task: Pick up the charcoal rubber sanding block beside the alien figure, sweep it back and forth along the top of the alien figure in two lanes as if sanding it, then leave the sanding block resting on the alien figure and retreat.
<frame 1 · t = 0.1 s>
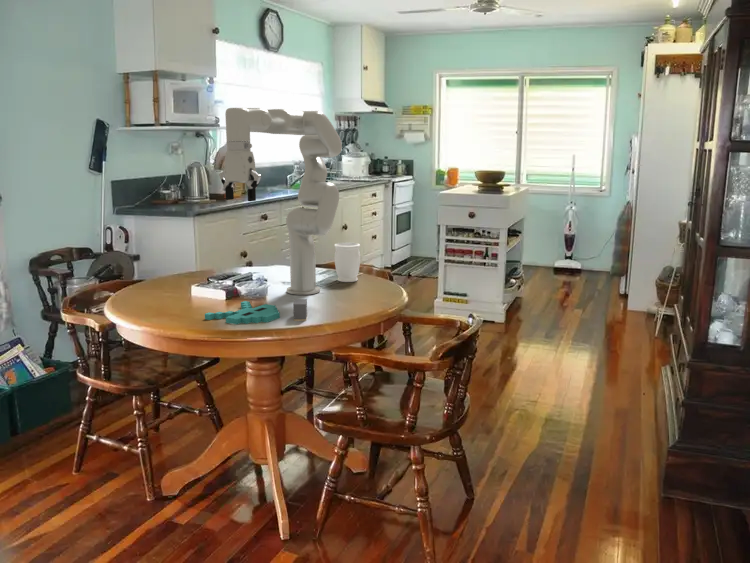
hand: (240, 200, 224), 37 cm above the table, tool pointing down, fingers open, 9 cm apart
sanding block: (300, 318, 222), on the table
jar: (347, 280, 279), on the table
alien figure: (249, 318, 224), on the table
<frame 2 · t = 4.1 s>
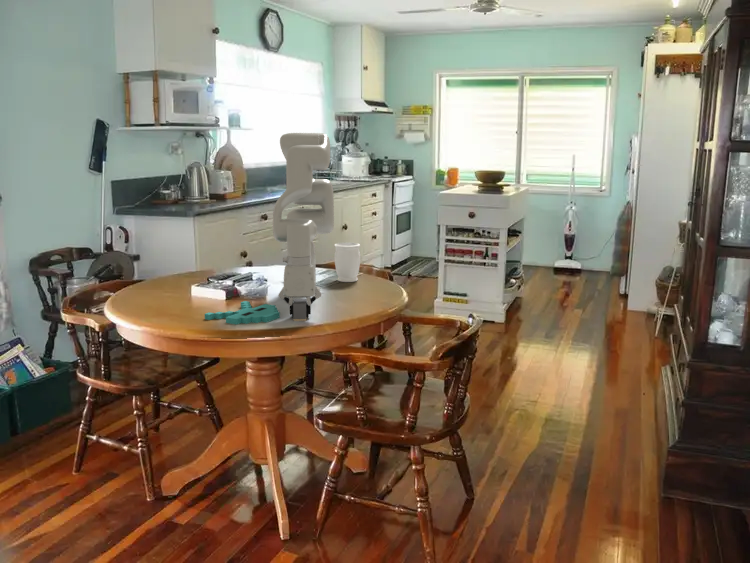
hand: (300, 316, 222), 1 cm above the table, tool pointing down, fingers closed on sanding block, 4 cm apart
sanding block: (300, 317, 222), on the table, touching gripper
everything else where it was.
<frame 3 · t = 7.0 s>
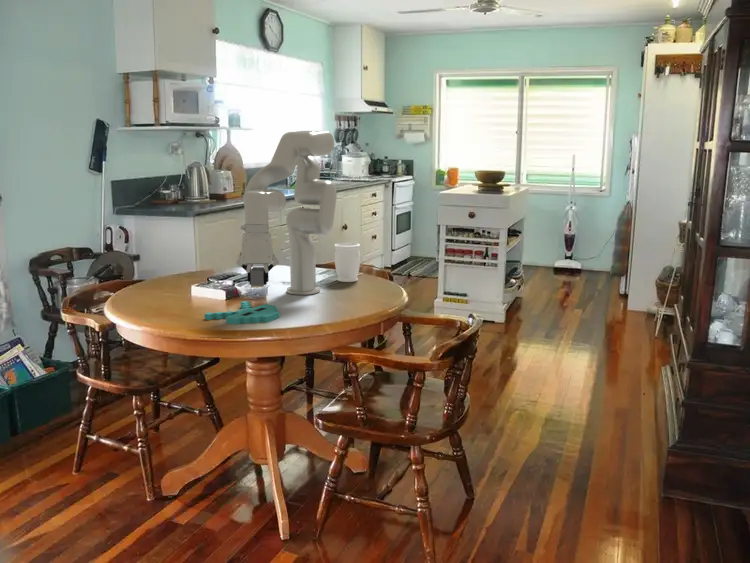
hand: (258, 283, 226), 10 cm above the table, tool pointing down, fingers closed on sanding block, 4 cm apart
sanding block: (258, 285, 226), point 9 cm above the table, touching gripper
everything else where it was.
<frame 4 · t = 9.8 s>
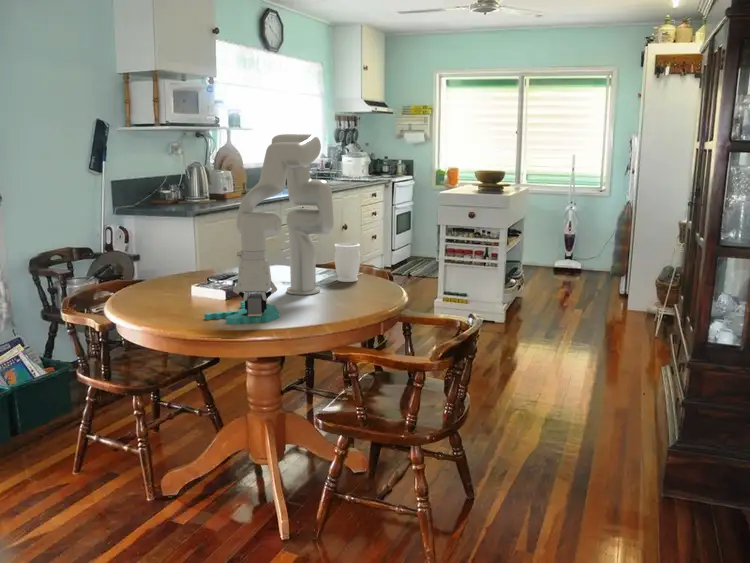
hand: (255, 311, 218), 3 cm above the table, tool pointing down, fingers closed on sanding block, 4 cm apart
sanding block: (255, 313, 218), point 2 cm above the table, touching gripper
everything else where it was.
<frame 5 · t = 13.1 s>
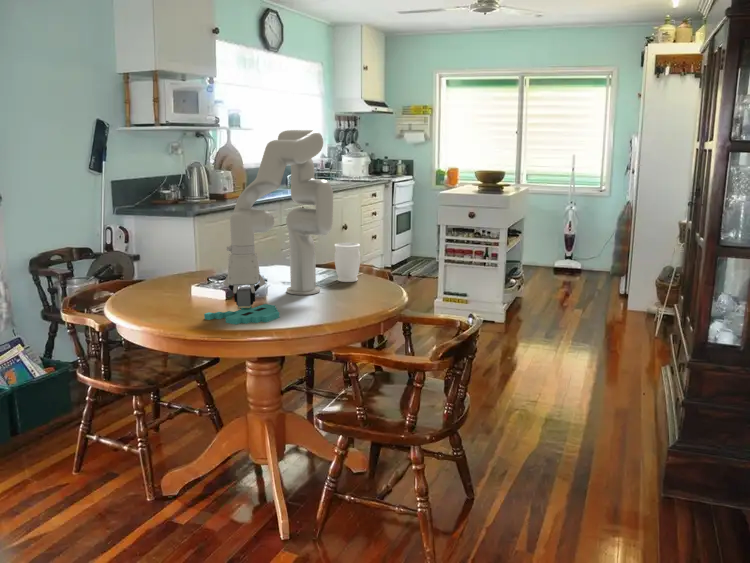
hand: (245, 303, 228), 3 cm above the table, tool pointing down, fingers closed on sanding block, 4 cm apart
sanding block: (245, 305, 228), point 2 cm above the table, touching gripper
everything else where it was.
when the fingers open (3 cm above the table, at t = 15.8 s): sanding block stays where it is, resting on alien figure.
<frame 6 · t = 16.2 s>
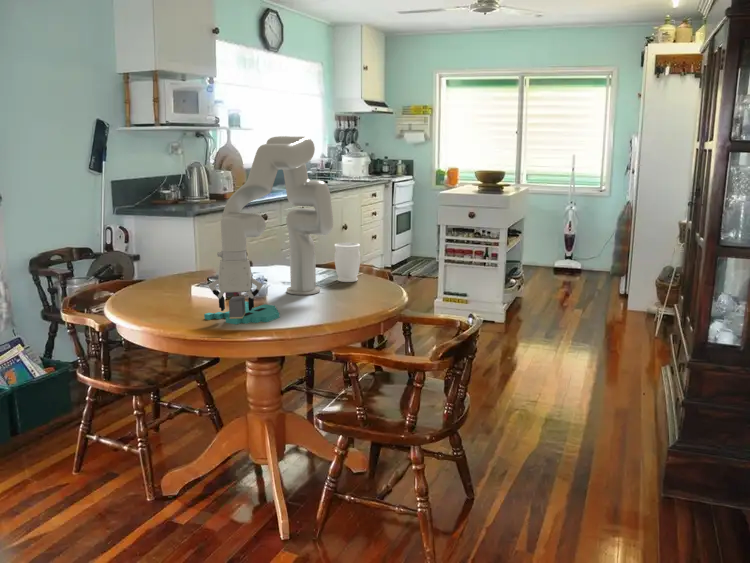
hand: (236, 309, 217), 4 cm above the table, tool pointing down, fingers open, 8 cm apart
sanding block: (237, 315, 218), point 2 cm above the table, touching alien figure
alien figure: (248, 318, 224), on the table, touching sanding block
everything else where it was.
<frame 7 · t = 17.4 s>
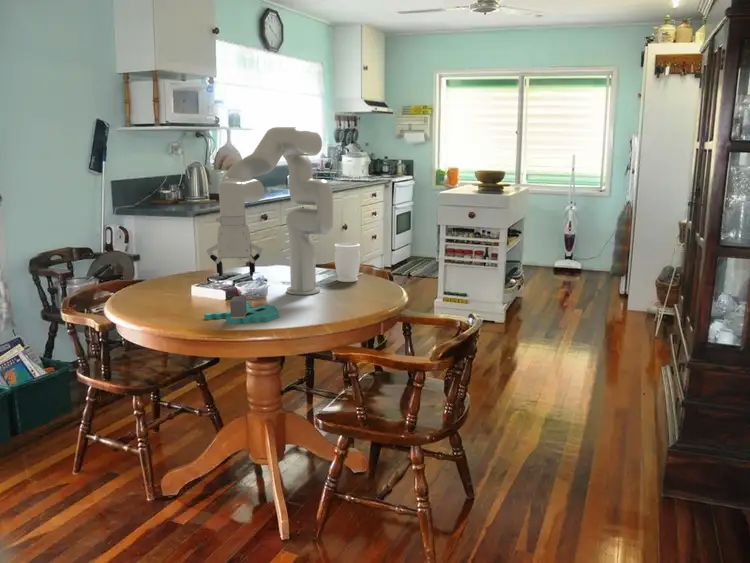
hand: (236, 274, 215), 15 cm above the table, tool pointing down, fingers open, 9 cm apart
nothing on the table moved.
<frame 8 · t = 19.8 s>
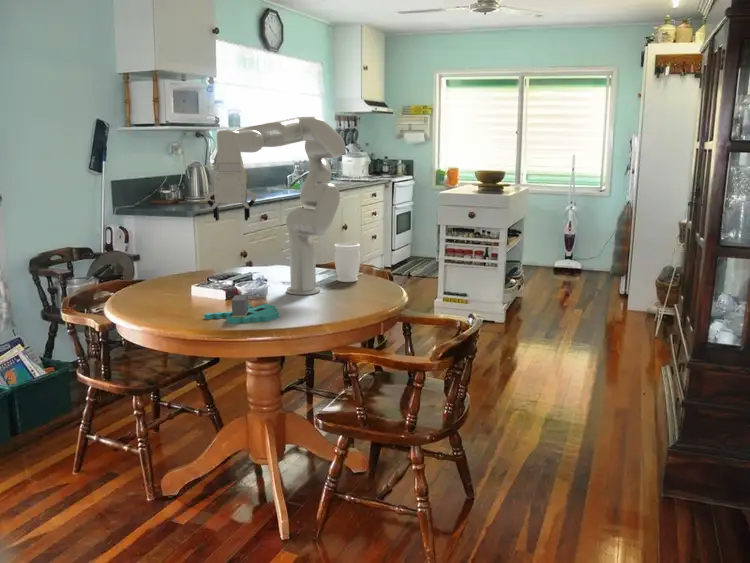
hand: (231, 220, 228), 30 cm above the table, tool pointing down, fingers open, 9 cm apart
sanding block: (240, 314, 220), point 2 cm above the table
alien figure: (248, 318, 225), on the table
everything else where it was.
at the end: sanding block inside the target area on the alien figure (4.6 cm from its centre), point 2.4 cm above the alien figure's base; sanding block tilted 0°; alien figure moved 1.1 cm from its start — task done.
